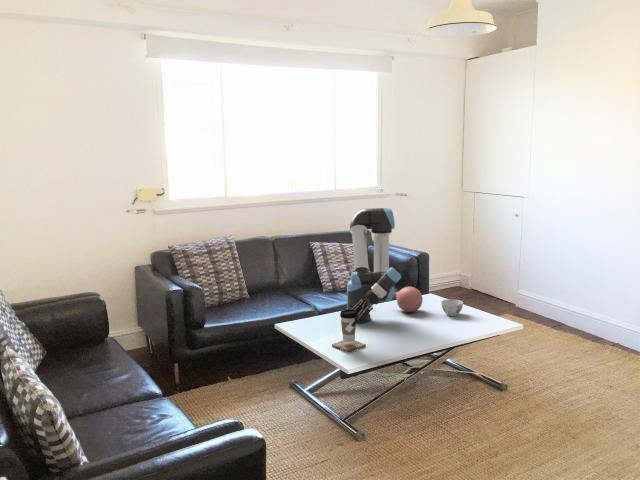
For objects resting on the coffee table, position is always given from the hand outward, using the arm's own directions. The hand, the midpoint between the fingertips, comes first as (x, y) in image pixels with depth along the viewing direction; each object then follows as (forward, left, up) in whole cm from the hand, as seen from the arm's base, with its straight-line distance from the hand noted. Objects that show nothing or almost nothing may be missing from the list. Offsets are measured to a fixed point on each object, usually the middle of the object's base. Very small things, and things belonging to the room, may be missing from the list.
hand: (344, 327), depth 267 cm
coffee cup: (+1, +2, -7) cm, 7 cm away
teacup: (+8, +80, -10) cm, 81 cm away
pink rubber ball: (-16, +68, -10) cm, 71 cm away
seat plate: (+1, +2, -10) cm, 10 cm away
